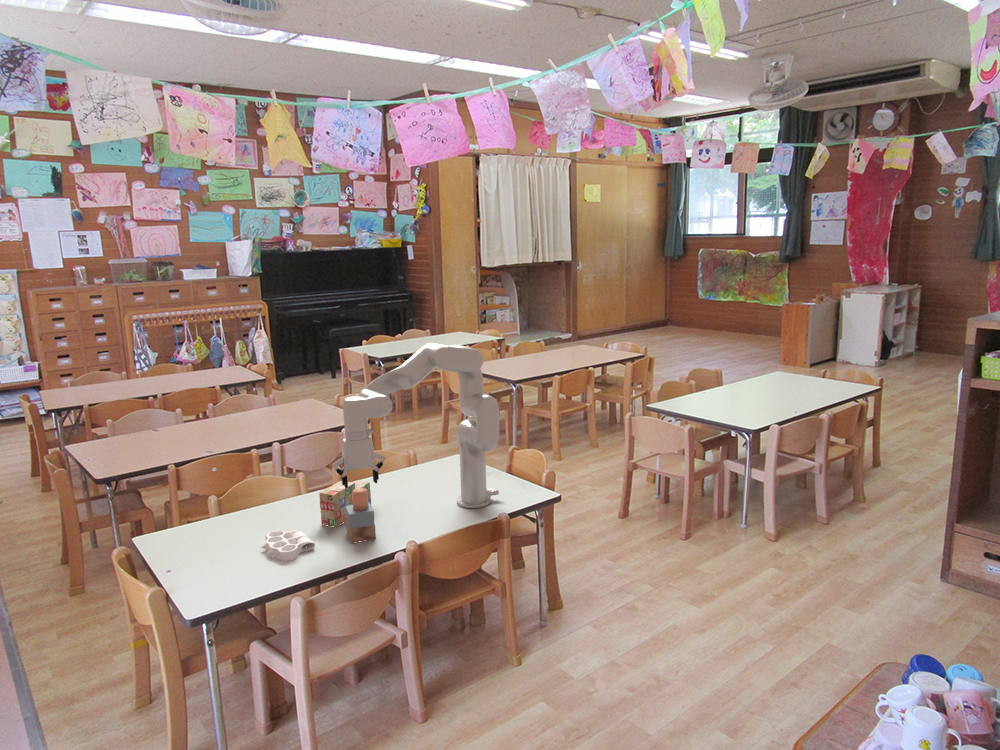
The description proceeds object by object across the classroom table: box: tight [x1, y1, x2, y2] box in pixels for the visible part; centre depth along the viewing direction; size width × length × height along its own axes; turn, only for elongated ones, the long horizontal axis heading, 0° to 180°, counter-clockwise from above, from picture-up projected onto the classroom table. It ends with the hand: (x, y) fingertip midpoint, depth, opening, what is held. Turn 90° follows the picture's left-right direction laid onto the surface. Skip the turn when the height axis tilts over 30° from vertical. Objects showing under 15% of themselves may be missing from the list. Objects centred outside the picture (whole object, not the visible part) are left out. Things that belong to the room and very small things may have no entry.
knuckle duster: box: [261, 529, 316, 562], centre depth 224 cm, size 3×18×15 cm
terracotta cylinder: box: [352, 488, 369, 511], centre depth 230 cm, size 5×5×6 cm
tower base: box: [345, 520, 377, 544], centre depth 232 cm, size 8×8×5 cm
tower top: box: [346, 502, 376, 529], centre depth 231 cm, size 8×8×5 cm
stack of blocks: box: [318, 480, 372, 528], centre depth 249 cm, size 21×6×12 cm, turn 156°
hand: (360, 484), depth 229 cm, fingers open, 9 cm apart
